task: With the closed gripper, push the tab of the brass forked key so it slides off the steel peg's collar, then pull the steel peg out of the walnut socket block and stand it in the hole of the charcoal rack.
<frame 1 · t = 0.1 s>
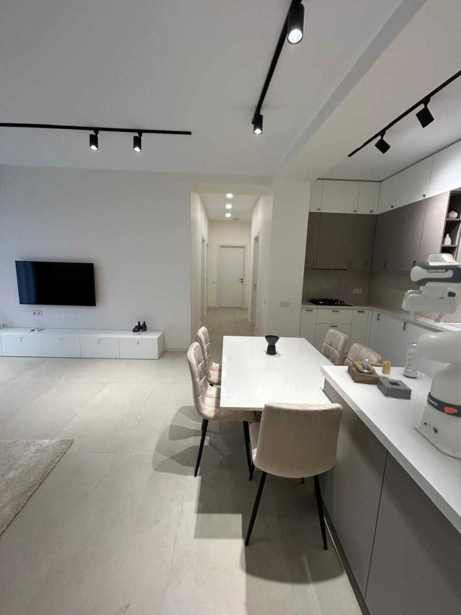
hand: (425, 321, 116), 39 cm above the countertop, tool pointing down, fingers open, 8 cm apart
socket block: (363, 380, 144), on the countertop
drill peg: (363, 380, 144), resting in socket block
plastic bottle: (409, 376, 152), on the countertop
drift key: (374, 369, 145), point 6 cm above the countertop, slide at 0.0 cm
rack: (392, 392, 131), on the countertop
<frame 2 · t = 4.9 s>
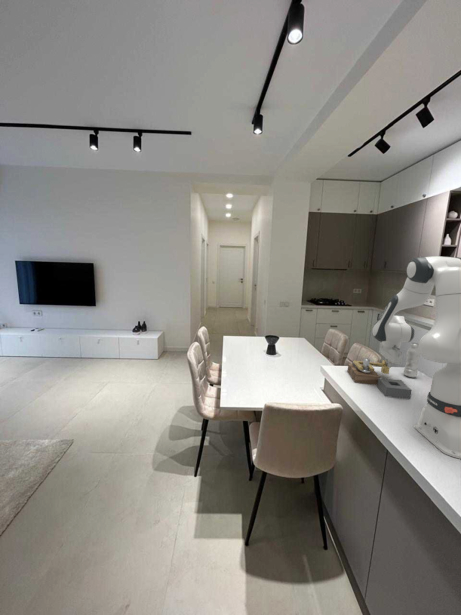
hand: (388, 366, 146), 7 cm above the countertop, tool pointing down, fingers closed
drift key: (373, 368, 146), point 6 cm above the countertop, slide at 1.3 cm, touching gripper
everything else where it was.
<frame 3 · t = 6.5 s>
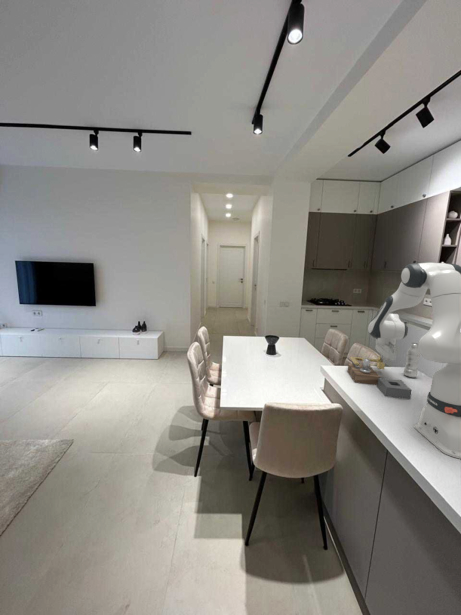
hand: (383, 362, 152), 7 cm above the countertop, tool pointing down, fingers closed
drift key: (369, 363, 153), point 6 cm above the countertop, slide at 7.9 cm, touching gripper
everything else where it was.
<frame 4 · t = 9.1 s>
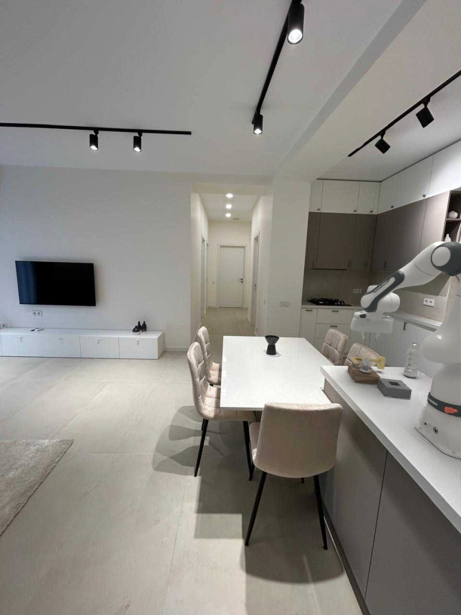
hand: (369, 340, 140), 23 cm above the countertop, tool pointing down, fingers open, 4 cm apart
drift key: (369, 363, 153), point 6 cm above the countertop, slide at 7.9 cm
everything else where it was.
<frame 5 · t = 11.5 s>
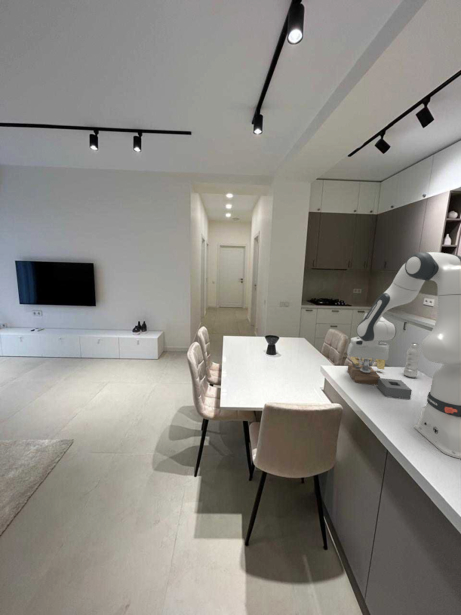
hand: (365, 365, 143), 9 cm above the countertop, tool pointing down, fingers closed on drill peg, 3 cm apart
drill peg: (363, 380, 144), resting in socket block, touching gripper
everything else where it was.
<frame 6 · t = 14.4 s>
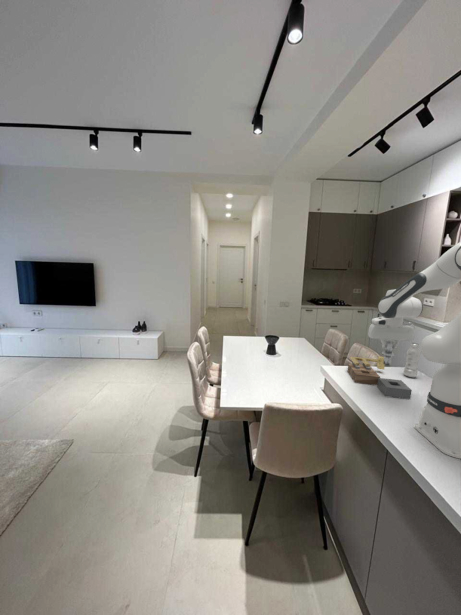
hand: (389, 348, 131), 22 cm above the countertop, tool pointing down, fingers closed on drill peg, 3 cm apart
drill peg: (386, 364, 132), point 13 cm above the countertop, touching gripper
everything else where it was.
when the fingers open (10 cm above the countertop, at t = 17.1 s): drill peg stays where it is, resting in rack.
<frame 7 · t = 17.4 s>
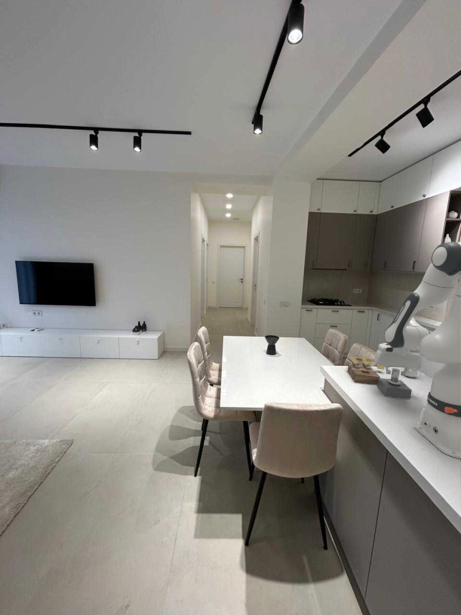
hand: (395, 374, 129), 10 cm above the countertop, tool pointing down, fingers open, 5 cm apart
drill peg: (392, 392, 131), resting in rack
everything else where it was.
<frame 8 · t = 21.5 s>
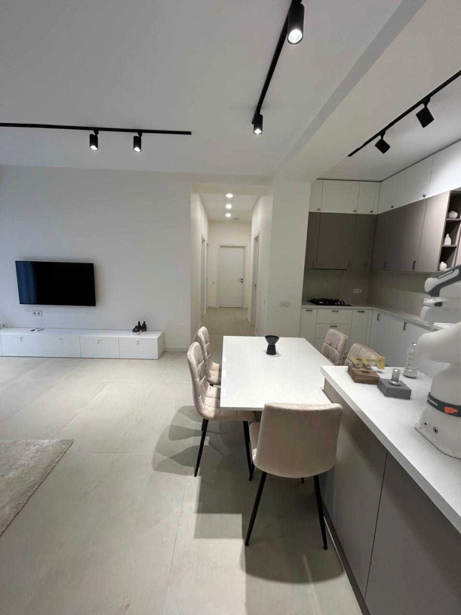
hand: (443, 332, 122), 33 cm above the countertop, tool pointing down, fingers open, 8 cm apart
nothing on the countertop moved.
at the end: drift key slide at 7.9 cm; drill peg 0.1 cm off-centre on the rack, point 0.0 cm above the rack's base; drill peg tilted 0° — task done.
